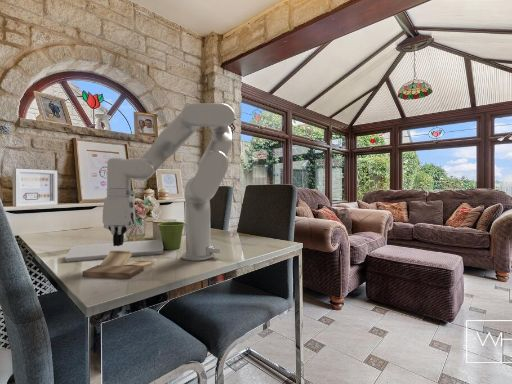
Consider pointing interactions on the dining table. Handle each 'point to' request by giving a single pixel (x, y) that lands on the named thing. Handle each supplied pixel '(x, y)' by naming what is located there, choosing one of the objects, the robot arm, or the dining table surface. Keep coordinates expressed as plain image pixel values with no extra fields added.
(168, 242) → the plant pot
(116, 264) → the plank
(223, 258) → the dining table surface
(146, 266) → the plank
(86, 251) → the decorative molding
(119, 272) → the floor row
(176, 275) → the dining table surface
